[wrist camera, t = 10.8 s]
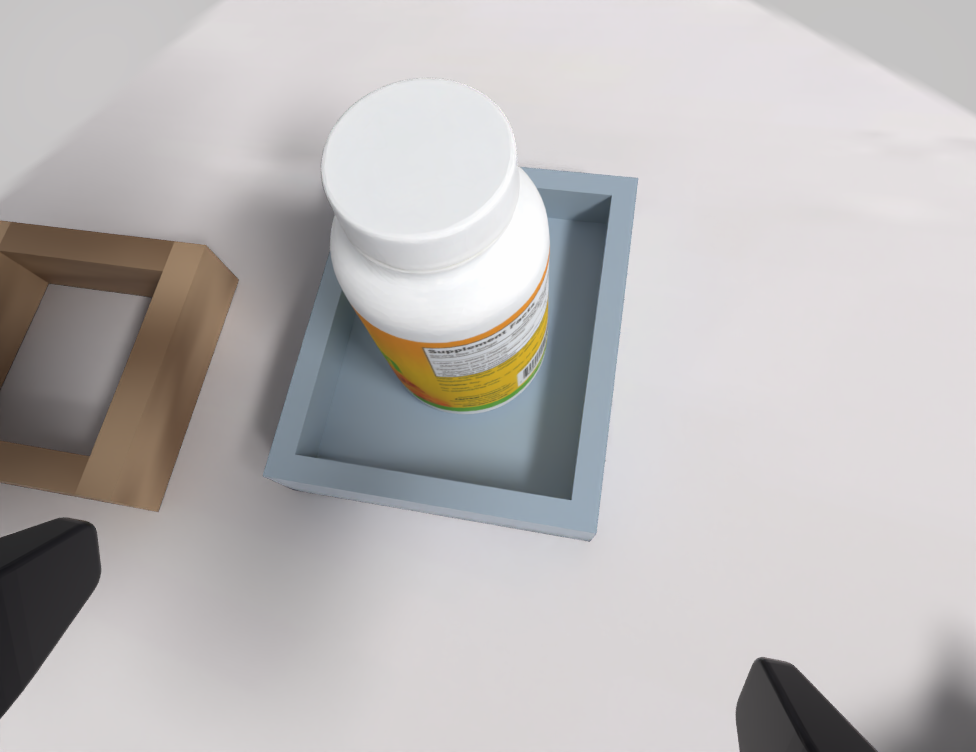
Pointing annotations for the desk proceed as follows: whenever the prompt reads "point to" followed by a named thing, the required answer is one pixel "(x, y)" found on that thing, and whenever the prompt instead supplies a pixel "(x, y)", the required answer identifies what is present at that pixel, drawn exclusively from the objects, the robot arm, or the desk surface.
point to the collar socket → (150, 367)
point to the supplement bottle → (440, 241)
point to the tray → (482, 436)
